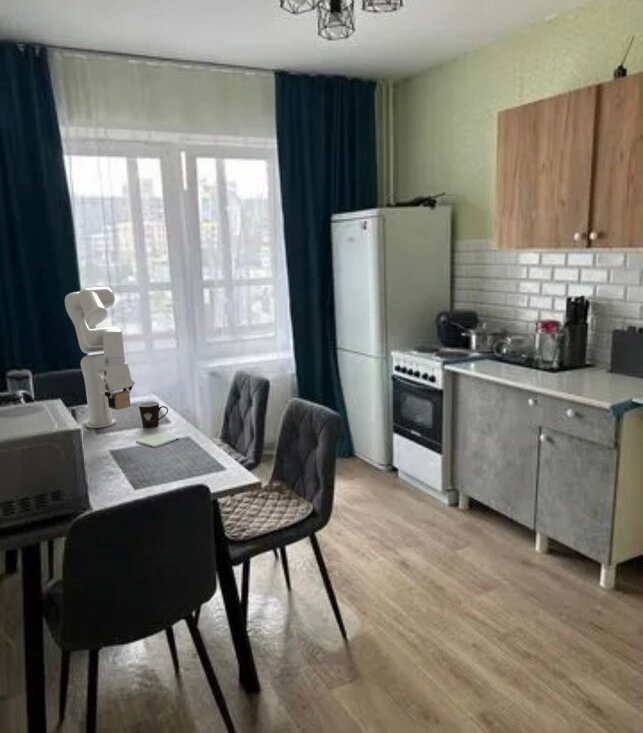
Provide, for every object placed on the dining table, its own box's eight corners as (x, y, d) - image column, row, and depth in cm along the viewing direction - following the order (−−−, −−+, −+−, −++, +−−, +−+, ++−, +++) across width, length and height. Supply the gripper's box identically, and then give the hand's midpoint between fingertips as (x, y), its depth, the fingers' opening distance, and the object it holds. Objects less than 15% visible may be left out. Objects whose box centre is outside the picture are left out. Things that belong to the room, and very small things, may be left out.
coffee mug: (136, 428, 257) (134, 406, 255) (149, 422, 265) (147, 401, 263) (158, 430, 253) (156, 407, 251) (170, 424, 261) (168, 402, 259)
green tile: (136, 442, 238) (135, 440, 238) (160, 434, 247) (160, 432, 247) (155, 447, 231) (155, 445, 230) (179, 439, 240) (179, 437, 240)
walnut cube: (108, 407, 236) (107, 393, 235) (121, 404, 241) (120, 390, 240) (117, 409, 233) (116, 395, 232) (130, 406, 237) (129, 391, 236)
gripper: (100, 365, 224) (105, 411, 228) (139, 358, 238) (143, 401, 241) (89, 363, 229) (94, 408, 232) (127, 356, 242) (132, 399, 246)
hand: (119, 404), depth 237 cm, fingers closed on walnut cube, 6 cm apart
